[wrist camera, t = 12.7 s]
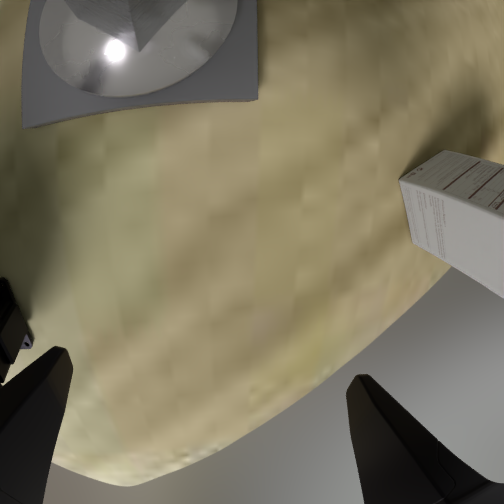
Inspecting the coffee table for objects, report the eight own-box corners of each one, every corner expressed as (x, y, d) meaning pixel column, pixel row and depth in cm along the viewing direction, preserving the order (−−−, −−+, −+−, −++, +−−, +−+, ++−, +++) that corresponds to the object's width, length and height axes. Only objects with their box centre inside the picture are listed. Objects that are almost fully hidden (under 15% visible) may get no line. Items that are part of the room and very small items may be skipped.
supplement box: (453, 209, 27) (546, 256, 16) (409, 244, 27) (510, 308, 16) (444, 146, 24) (554, 180, 13) (396, 176, 23) (522, 226, 12)
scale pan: (43, 114, 12) (35, 114, 11) (58, -39, 8) (54, -47, 7) (232, 91, 15) (238, 88, 14) (232, -57, 11) (237, -66, 10)
